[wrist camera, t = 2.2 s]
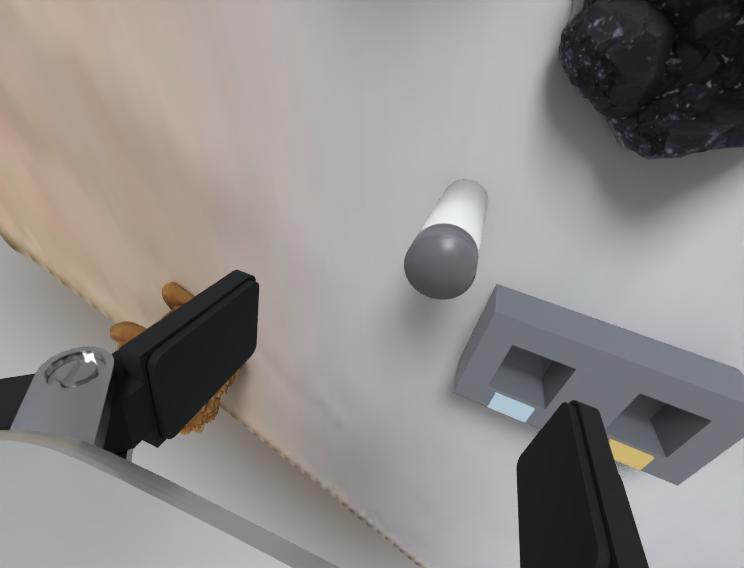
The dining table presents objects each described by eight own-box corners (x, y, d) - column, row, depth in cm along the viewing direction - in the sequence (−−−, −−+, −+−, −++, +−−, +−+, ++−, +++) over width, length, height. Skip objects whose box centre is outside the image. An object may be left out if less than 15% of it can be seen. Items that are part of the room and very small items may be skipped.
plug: (496, 187, 24) (487, 249, 15) (478, 229, 25) (460, 309, 16) (450, 173, 24) (414, 224, 15) (435, 216, 26) (396, 285, 17)
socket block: (738, 369, 24) (777, 416, 21) (658, 439, 29) (678, 488, 25) (496, 284, 27) (495, 313, 23) (459, 360, 32) (452, 394, 28)
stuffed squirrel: (168, 274, 39) (38, 345, 28) (269, 349, 40) (179, 448, 29) (154, 325, 45) (40, 401, 34) (242, 390, 45) (158, 486, 34)
